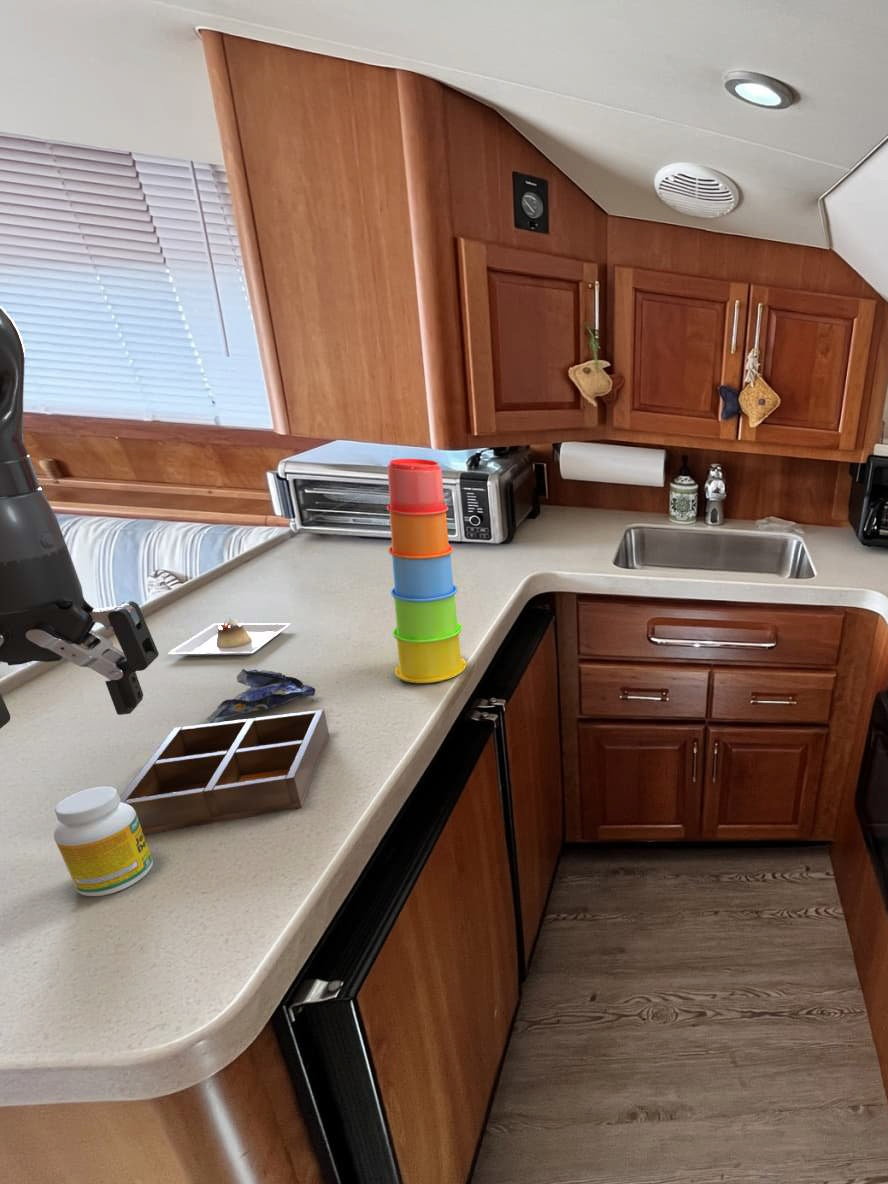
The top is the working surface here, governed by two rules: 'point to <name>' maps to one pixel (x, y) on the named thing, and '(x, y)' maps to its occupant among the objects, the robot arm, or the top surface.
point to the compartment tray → (228, 771)
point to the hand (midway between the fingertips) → (65, 718)
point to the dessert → (230, 639)
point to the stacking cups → (422, 574)
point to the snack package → (262, 693)
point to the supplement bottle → (101, 841)
